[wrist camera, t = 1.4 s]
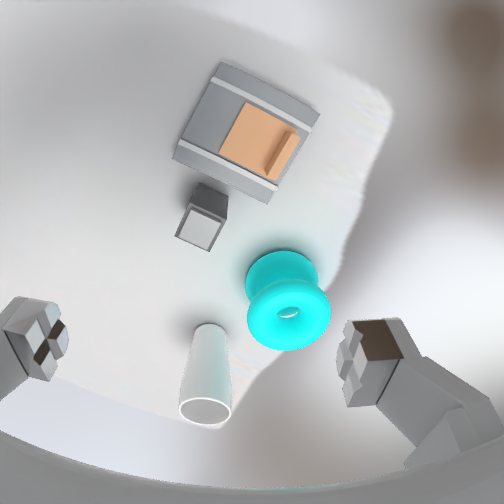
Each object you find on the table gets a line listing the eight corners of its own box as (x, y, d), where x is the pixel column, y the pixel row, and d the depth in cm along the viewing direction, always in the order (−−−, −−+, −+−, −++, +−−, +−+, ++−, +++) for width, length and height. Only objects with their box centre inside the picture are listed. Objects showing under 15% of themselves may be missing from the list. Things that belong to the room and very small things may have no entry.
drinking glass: (211, 355, 50) (206, 431, 37) (180, 333, 47) (166, 410, 34) (240, 335, 48) (243, 413, 35) (209, 311, 46) (202, 390, 32)
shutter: (269, 177, 34) (272, 186, 31) (218, 152, 32) (216, 158, 29) (296, 129, 32) (303, 132, 28) (245, 102, 30) (247, 101, 27)
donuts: (269, 365, 38) (231, 311, 33) (263, 316, 47) (232, 265, 42) (343, 335, 36) (317, 274, 32) (324, 290, 45) (300, 235, 41)
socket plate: (264, 197, 38) (267, 206, 35) (176, 154, 35) (170, 159, 32) (313, 113, 34) (321, 114, 30) (223, 65, 31) (221, 61, 27)
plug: (214, 223, 39) (209, 254, 32) (185, 210, 38) (173, 238, 31) (228, 196, 38) (226, 222, 30) (199, 182, 37) (189, 204, 29)
